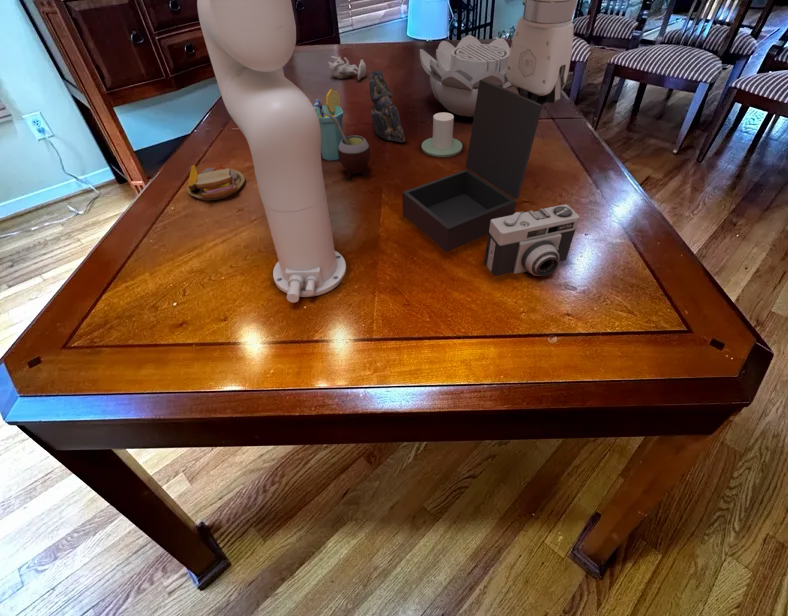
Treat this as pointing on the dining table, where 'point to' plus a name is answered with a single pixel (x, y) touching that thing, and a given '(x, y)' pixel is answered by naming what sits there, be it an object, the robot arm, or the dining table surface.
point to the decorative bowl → (466, 71)
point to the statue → (384, 110)
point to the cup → (330, 124)
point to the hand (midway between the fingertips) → (528, 126)
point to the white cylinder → (442, 130)
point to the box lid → (502, 136)
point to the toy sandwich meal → (214, 183)
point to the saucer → (432, 151)
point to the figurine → (346, 68)
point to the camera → (530, 241)
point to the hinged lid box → (456, 208)
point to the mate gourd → (352, 152)
